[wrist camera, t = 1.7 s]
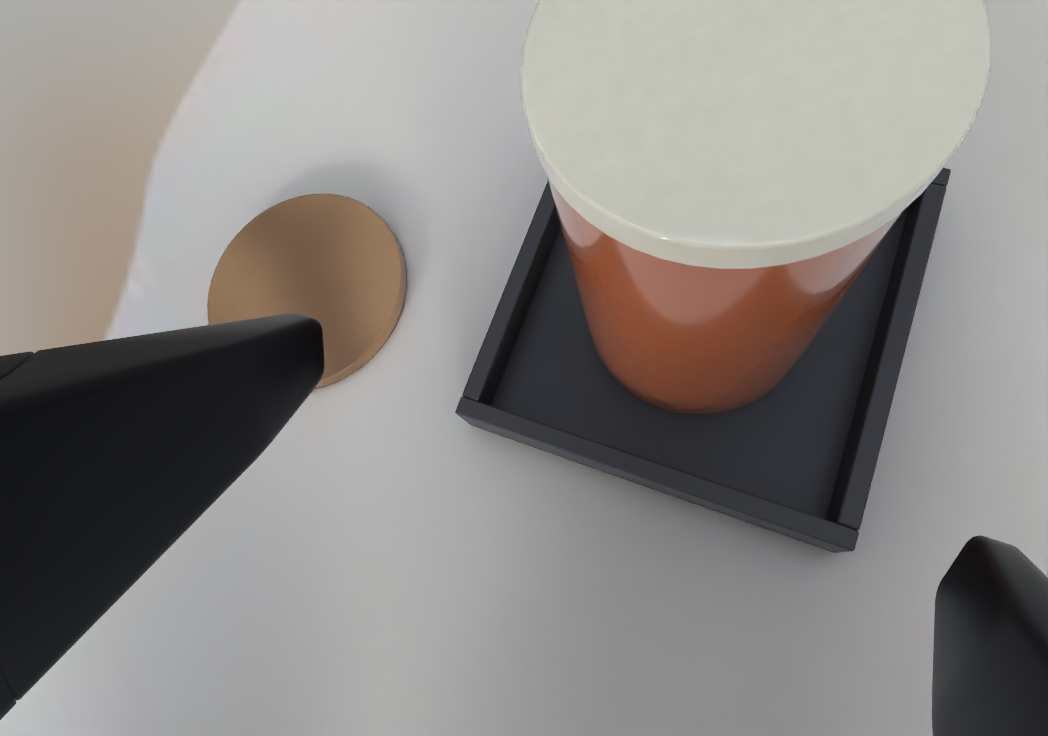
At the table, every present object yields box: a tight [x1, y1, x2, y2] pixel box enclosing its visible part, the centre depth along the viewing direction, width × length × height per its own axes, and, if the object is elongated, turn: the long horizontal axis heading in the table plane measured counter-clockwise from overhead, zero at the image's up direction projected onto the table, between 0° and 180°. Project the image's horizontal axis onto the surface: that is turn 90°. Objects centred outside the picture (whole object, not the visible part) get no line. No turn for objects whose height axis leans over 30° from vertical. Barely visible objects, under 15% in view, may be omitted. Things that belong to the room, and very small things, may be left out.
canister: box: [520, 0, 991, 414], centre depth 16 cm, size 7×7×12 cm
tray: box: [456, 168, 951, 553], centre depth 22 cm, size 12×12×2 cm
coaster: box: [208, 194, 407, 389], centre depth 25 cm, size 8×8×1 cm
